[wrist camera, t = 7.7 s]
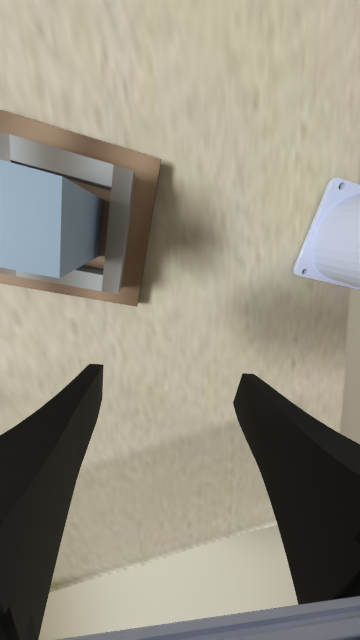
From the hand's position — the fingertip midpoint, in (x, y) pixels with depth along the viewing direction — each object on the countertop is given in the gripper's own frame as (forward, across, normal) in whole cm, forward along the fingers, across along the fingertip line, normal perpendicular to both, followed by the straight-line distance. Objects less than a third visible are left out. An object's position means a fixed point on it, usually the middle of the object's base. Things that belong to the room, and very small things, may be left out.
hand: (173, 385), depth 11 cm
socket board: (+10, +8, -6) cm, 14 cm away
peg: (+9, +8, -7) cm, 14 cm away
